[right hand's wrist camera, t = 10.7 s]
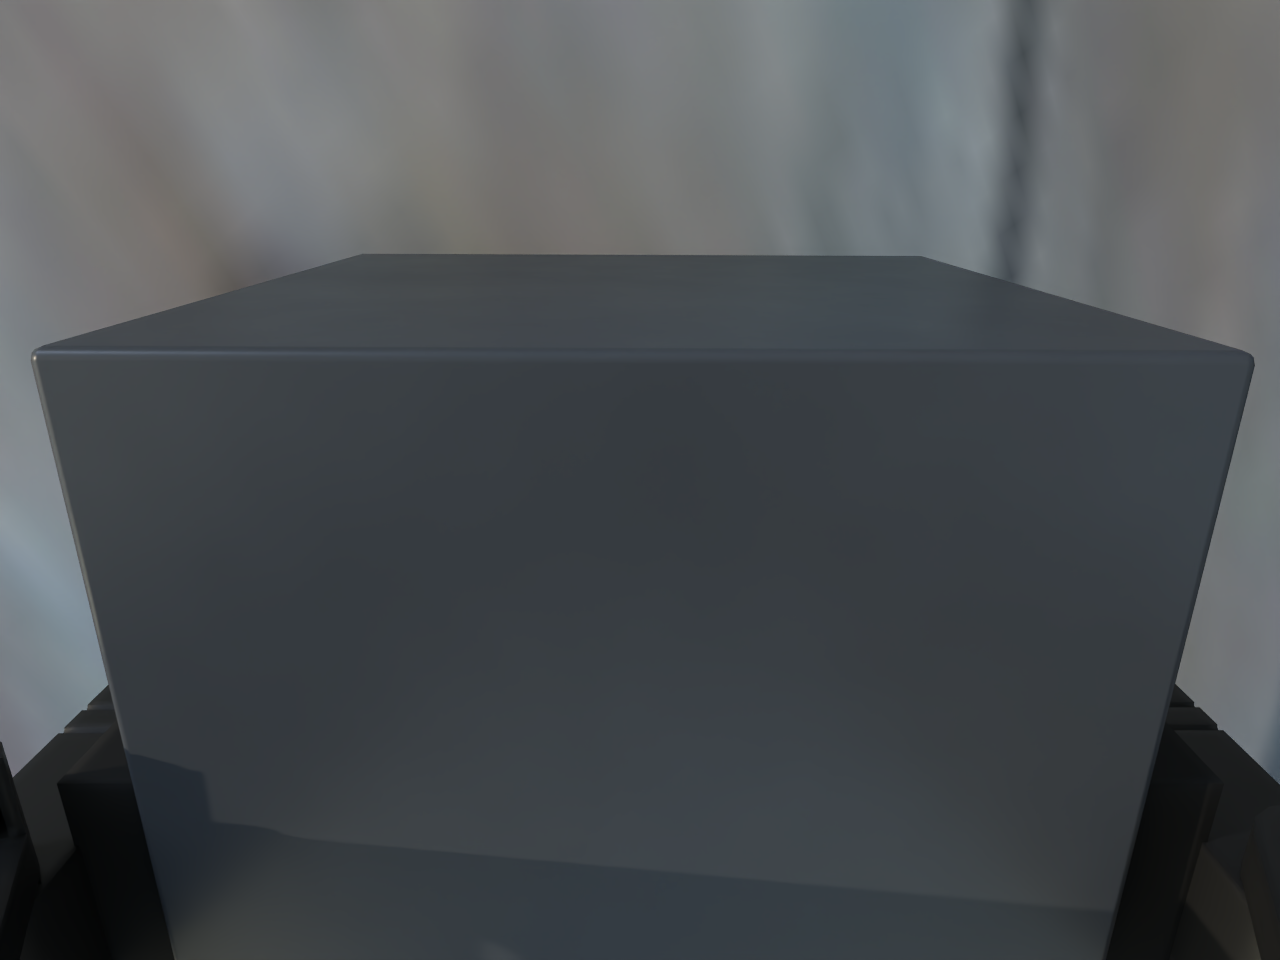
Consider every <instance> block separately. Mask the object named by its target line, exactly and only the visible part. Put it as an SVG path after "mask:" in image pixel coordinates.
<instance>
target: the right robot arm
mask: <svg viewBox="0 0 1280 960" xmlns="http://www.w3.org/2000/svg"><path fill="white" fill-rule="evenodd" d="M0 960H175V959H174V955H173V951H172V947H171V942H170V938H169V934H168V930H167V926H166V922H165V917H164V913H163V909H162V905H161V901H160V897H159V892H158V888H157V884H156V880H155V876H154V872H153V867H152V863H151V859H150V855H149V851H148V847H147V842H146V838H145V834H144V830H143V826H142V822H141V817H140V813H139V809H138V805H137V801H136V796H135V792H134V788H133V784H132V780H131V776H130V771H129V767H128V763H127V759H126V755H125V751H124V746H123V742H122V738H121V734H120V730H119V726H118V721H117V717H116V713H115V709H114V705H113V701H112V696H111V692H110V688H109V685H108V686H107V687H106V688H105V689H104V690H103V691H102V692H101V693H99V694H98V695H97V696H96V697H95V698H94V699H93V700H92V701H91V702H90V703H89V704H88V708H87V710H82V711H81V712H80V713H79V714H78V715H77V716H76V717H75V718H74V719H73V720H72V721H71V722H70V723H69V724H68V725H67V726H66V727H65V730H64V733H58V734H57V735H56V736H55V737H54V738H53V739H52V740H51V741H50V742H49V743H48V744H47V745H46V746H45V747H44V748H43V749H42V750H41V751H40V752H39V753H38V754H37V755H36V756H35V757H34V758H33V759H32V760H31V761H30V762H29V763H28V764H26V765H25V766H24V767H23V768H22V769H21V770H20V771H19V772H18V773H17V774H16V775H15V776H14V777H13V778H12V774H11V771H10V768H9V765H8V761H7V758H6V755H5V752H4V748H3V745H2V742H0ZM1106 960H1280V785H1279V784H1278V783H1277V782H1276V781H1275V780H1274V779H1273V778H1272V777H1271V776H1270V775H1269V774H1268V773H1267V772H1266V771H1265V770H1264V769H1263V768H1262V767H1261V766H1260V765H1259V764H1258V763H1257V762H1256V761H1254V760H1253V759H1252V758H1251V757H1250V756H1249V755H1248V754H1247V753H1246V752H1245V751H1244V750H1243V749H1242V748H1241V747H1240V746H1239V745H1238V744H1237V743H1236V742H1235V741H1234V740H1233V739H1232V738H1231V737H1230V736H1229V735H1228V734H1227V733H1225V732H1224V731H1223V730H1218V728H1217V724H1216V723H1215V722H1214V721H1213V720H1212V719H1211V718H1210V717H1209V716H1208V715H1207V714H1206V713H1205V712H1204V711H1203V710H1202V709H1201V708H1200V707H1194V702H1193V701H1192V700H1191V699H1190V698H1189V697H1188V696H1187V695H1186V694H1185V693H1184V692H1183V691H1182V690H1181V689H1180V688H1179V687H1178V686H1177V685H1176V684H1175V685H1174V689H1173V693H1172V697H1171V701H1170V705H1169V709H1168V713H1167V717H1166V721H1165V725H1164V729H1163V733H1162V737H1161V741H1160V745H1159V749H1158V753H1157V757H1156V761H1155V765H1154V769H1153V773H1152V777H1151V781H1150V785H1149V789H1148V793H1147V797H1146V801H1145V805H1144V809H1143V813H1142V817H1141V821H1140V825H1139V829H1138V833H1137V837H1136V841H1135V845H1134V849H1133V853H1132V857H1131V861H1130V865H1129V869H1128V873H1127V877H1126V881H1125V885H1124V889H1123V893H1122V897H1121V901H1120V905H1119V909H1118V913H1117V917H1116V921H1115V925H1114V929H1113V933H1112V937H1111V941H1110V945H1109V949H1108V953H1107V957H1106Z"/></svg>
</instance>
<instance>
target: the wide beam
mask: <svg viewBox="0 0 1280 960" xmlns="http://www.w3.org/2000/svg"><path fill="white" fill-rule="evenodd" d="M31 363H32V367H33V371H34V376H35V380H36V384H37V388H38V392H39V396H40V401H41V405H42V409H43V413H44V417H45V421H46V426H47V430H48V434H49V438H50V442H51V446H52V451H53V455H54V459H55V463H56V467H57V471H58V476H59V480H60V484H61V488H62V492H63V496H64V501H65V505H66V509H67V513H68V517H69V521H70V526H71V530H72V534H73V538H74V542H75V546H76V551H77V555H78V559H79V563H80V567H81V571H82V576H83V580H84V584H85V588H86V592H87V596H88V601H89V605H90V609H91V613H92V617H93V621H94V626H95V630H96V634H97V638H98V642H99V646H100V651H101V655H102V659H103V663H104V667H105V671H106V676H107V680H108V684H109V688H110V692H111V696H112V701H113V705H114V709H115V713H116V717H117V721H118V726H119V730H120V734H121V738H122V742H123V746H124V751H125V755H126V759H127V763H128V767H129V771H130V776H131V780H132V784H133V788H134V792H135V796H136V801H137V805H138V809H139V813H140V817H141V822H142V826H143V830H144V834H145V838H146V842H147V847H148V851H149V855H150V859H151V863H152V867H153V872H154V876H155V880H156V884H157V888H158V892H159V897H160V901H161V905H162V909H163V913H164V917H165V922H166V926H167V930H168V934H169V938H170V942H171V947H172V951H173V955H174V959H175V960H1106V957H1107V953H1108V949H1109V945H1110V941H1111V937H1112V933H1113V929H1114V925H1115V921H1116V917H1117V913H1118V909H1119V905H1120V901H1121V897H1122V893H1123V889H1124V885H1125V881H1126V877H1127V873H1128V869H1129V865H1130V861H1131V857H1132V853H1133V849H1134V845H1135V841H1136V837H1137V833H1138V829H1139V825H1140V821H1141V817H1142V813H1143V809H1144V805H1145V801H1146V797H1147V793H1148V789H1149V785H1150V781H1151V777H1152V773H1153V769H1154V765H1155V761H1156V757H1157V753H1158V749H1159V745H1160V741H1161V737H1162V733H1163V729H1164V725H1165V721H1166V717H1167V713H1168V709H1169V705H1170V701H1171V697H1172V693H1173V689H1174V685H1175V681H1176V677H1177V673H1178V669H1179V665H1180V662H1181V658H1182V654H1183V650H1184V646H1185V642H1186V638H1187V634H1188V630H1189V626H1190V622H1191V618H1192V614H1193V610H1194V606H1195V602H1196V598H1197V594H1198V590H1199V586H1200V582H1201V578H1202V574H1203V570H1204V566H1205V562H1206V558H1207V554H1208V550H1209V546H1210V542H1211V538H1212V534H1213V530H1214V526H1215V522H1216V518H1217V514H1218V510H1219V506H1220V502H1221V498H1222V494H1223V490H1224V486H1225V482H1226V478H1227V474H1228V470H1229V466H1230V462H1231V458H1232V454H1233V450H1234V446H1235V442H1236V438H1237V434H1238V430H1239V426H1240V422H1241V418H1242V414H1243V410H1244V406H1245V402H1246V398H1247V394H1248V390H1249V386H1250V382H1251V378H1252V374H1253V370H1254V366H1255V364H1254V357H1253V356H1252V355H1251V354H1249V353H1247V352H1245V351H1242V350H1239V349H1236V348H1232V347H1229V346H1225V345H1222V344H1219V343H1215V342H1212V341H1208V340H1205V339H1201V338H1198V337H1195V336H1191V335H1188V334H1184V333H1181V332H1178V331H1174V330H1171V329H1167V328H1164V327H1161V326H1157V325H1154V324H1150V323H1147V322H1143V321H1140V320H1137V319H1133V318H1130V317H1126V316H1123V315H1120V314H1116V313H1113V312H1109V311H1106V310H1103V309H1099V308H1096V307H1092V306H1089V305H1086V304H1082V303H1079V302H1075V301H1072V300H1068V299H1065V298H1062V297H1058V296H1055V295H1051V294H1048V293H1045V292H1041V291H1038V290H1034V289H1031V288H1028V287H1024V286H1021V285H1017V284H1014V283H1010V282H1007V281H1004V280H1000V279H997V278H993V277H990V276H987V275H983V274H980V273H976V272H973V271H970V270H966V269H963V268H959V267H956V266H952V265H949V264H946V263H942V262H939V261H935V260H932V259H929V258H925V257H922V256H739V255H495V254H361V255H357V256H354V257H350V258H347V259H343V260H340V261H336V262H333V263H329V264H326V265H323V266H319V267H316V268H312V269H309V270H305V271H302V272H298V273H295V274H291V275H288V276H284V277H281V278H277V279H274V280H270V281H267V282H263V283H260V284H256V285H253V286H249V287H246V288H242V289H239V290H235V291H232V292H228V293H225V294H221V295H218V296H215V297H211V298H208V299H204V300H201V301H197V302H194V303H190V304H187V305H183V306H180V307H176V308H173V309H169V310H166V311H162V312H159V313H155V314H152V315H148V316H145V317H141V318H138V319H134V320H131V321H127V322H124V323H120V324H117V325H113V326H110V327H107V328H103V329H100V330H96V331H93V332H89V333H86V334H82V335H79V336H75V337H72V338H68V339H65V340H61V341H58V342H54V343H51V344H47V345H44V346H41V347H39V348H37V349H35V350H34V351H33V352H32V356H31Z"/></svg>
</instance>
